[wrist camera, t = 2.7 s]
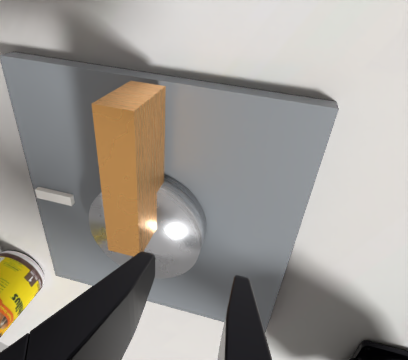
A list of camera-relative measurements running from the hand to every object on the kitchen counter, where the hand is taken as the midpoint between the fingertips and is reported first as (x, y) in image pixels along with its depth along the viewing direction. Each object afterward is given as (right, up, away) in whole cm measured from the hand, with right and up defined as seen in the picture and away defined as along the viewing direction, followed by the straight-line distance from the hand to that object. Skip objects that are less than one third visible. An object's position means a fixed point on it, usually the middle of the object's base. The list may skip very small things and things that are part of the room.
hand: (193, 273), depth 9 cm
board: (-3, +1, +15) cm, 15 cm away
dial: (-3, +2, +12) cm, 13 cm away
